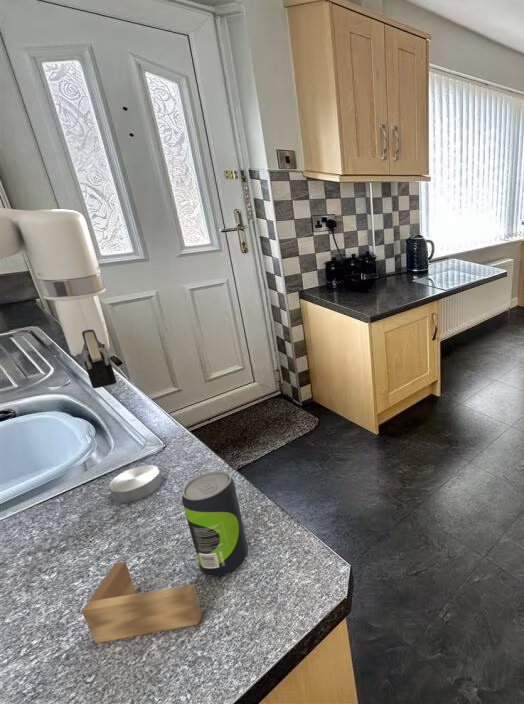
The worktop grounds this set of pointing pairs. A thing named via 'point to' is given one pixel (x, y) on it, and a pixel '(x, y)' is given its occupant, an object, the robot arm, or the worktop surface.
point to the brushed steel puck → (135, 483)
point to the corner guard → (137, 608)
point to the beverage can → (215, 522)
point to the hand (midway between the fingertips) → (103, 381)
